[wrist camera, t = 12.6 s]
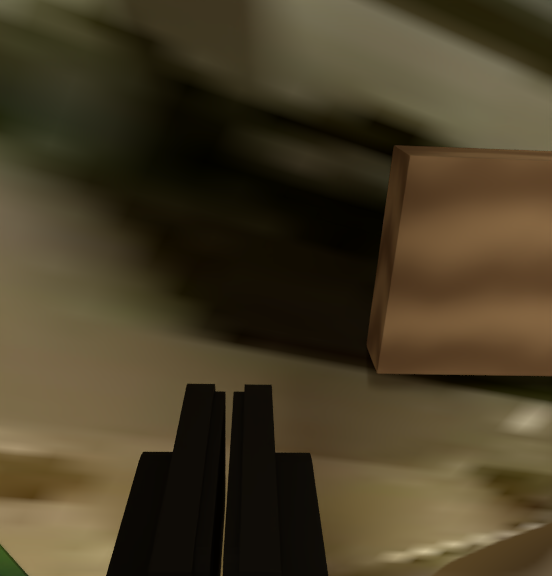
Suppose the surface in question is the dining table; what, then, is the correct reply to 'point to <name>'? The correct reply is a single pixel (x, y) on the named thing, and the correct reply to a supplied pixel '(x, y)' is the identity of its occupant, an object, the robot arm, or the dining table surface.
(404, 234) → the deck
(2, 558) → the green base with mound
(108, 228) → the dining table surface
